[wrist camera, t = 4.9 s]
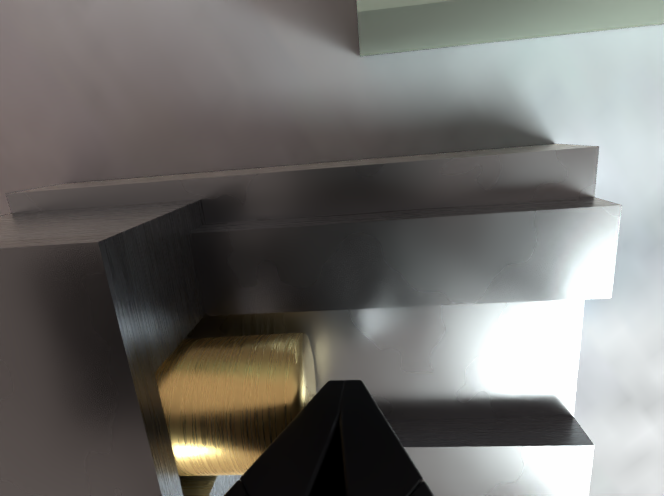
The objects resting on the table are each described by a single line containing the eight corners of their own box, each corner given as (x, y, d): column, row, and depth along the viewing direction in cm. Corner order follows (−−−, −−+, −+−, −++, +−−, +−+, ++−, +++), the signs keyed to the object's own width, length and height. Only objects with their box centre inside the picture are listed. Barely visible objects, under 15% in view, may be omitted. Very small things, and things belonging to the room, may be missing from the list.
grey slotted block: (535, 454, 13) (662, 694, 8) (136, 457, 15) (-8, 662, 9) (556, 143, 11) (779, 157, 5) (63, 183, 12) (-210, 230, 6)
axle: (319, 398, 11) (306, 506, 8) (-118, 415, 13) (-249, 511, 10) (304, 307, 10) (283, 399, 7) (-178, 338, 11) (-346, 424, 9)
